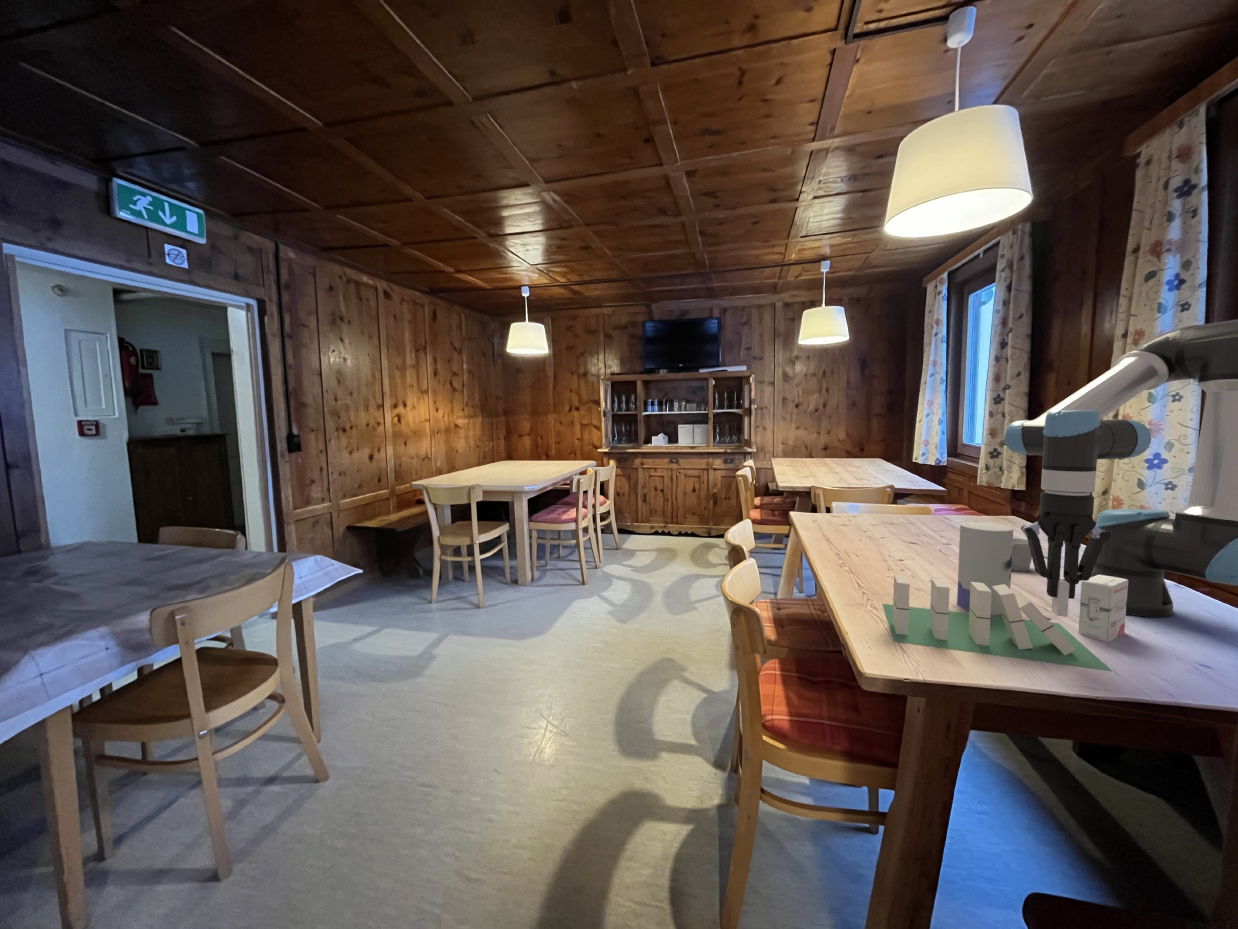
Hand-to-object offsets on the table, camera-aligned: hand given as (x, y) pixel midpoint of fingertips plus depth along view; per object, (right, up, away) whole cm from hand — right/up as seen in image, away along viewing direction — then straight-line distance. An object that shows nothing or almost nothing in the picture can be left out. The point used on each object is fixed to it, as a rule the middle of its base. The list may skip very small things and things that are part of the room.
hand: (1059, 613), depth 94 cm
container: (+2, -6, +23) cm, 23 cm away
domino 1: (-24, -7, +11) cm, 28 cm away
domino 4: (-5, -7, +3) cm, 9 cm away
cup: (+33, -3, +51) cm, 61 cm away
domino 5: (+1, -6, 0) cm, 7 cm away
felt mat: (-9, -7, +9) cm, 14 cm away
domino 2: (-18, -7, +8) cm, 21 cm away
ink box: (+15, -7, +7) cm, 18 cm away
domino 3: (-11, -7, +6) cm, 15 cm away
